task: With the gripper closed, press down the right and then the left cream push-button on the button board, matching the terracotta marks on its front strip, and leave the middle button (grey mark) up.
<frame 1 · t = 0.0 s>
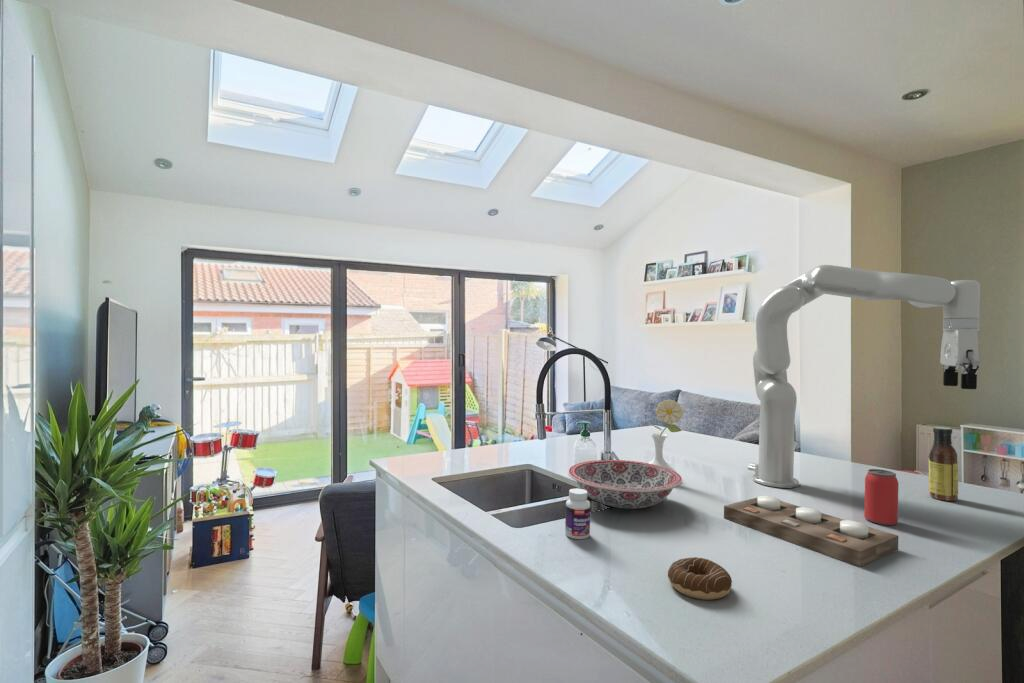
hand: (959, 387, 140), 31 cm above the worktop, tool pointing down, fingers open, 9 cm apart
pill bottle: (577, 535, 111), on the worktop
sauce bottle: (942, 499, 141), on the worktop
flower in vase: (660, 480, 156), on the worktop
donut: (699, 589, 89), on the worktop
right button: (853, 529, 107), point 4 cm above the worktop, slide at 0.0 cm
left button: (768, 503, 124), point 4 cm above the worktop, slide at 0.0 cm
button board: (804, 532, 115), on the worktop
beer can: (880, 522, 123), on the worktop
ceramic bowl: (623, 504, 133), on the worktop
middle button: (808, 515, 115), point 4 cm above the worktop, slide at 0.0 cm
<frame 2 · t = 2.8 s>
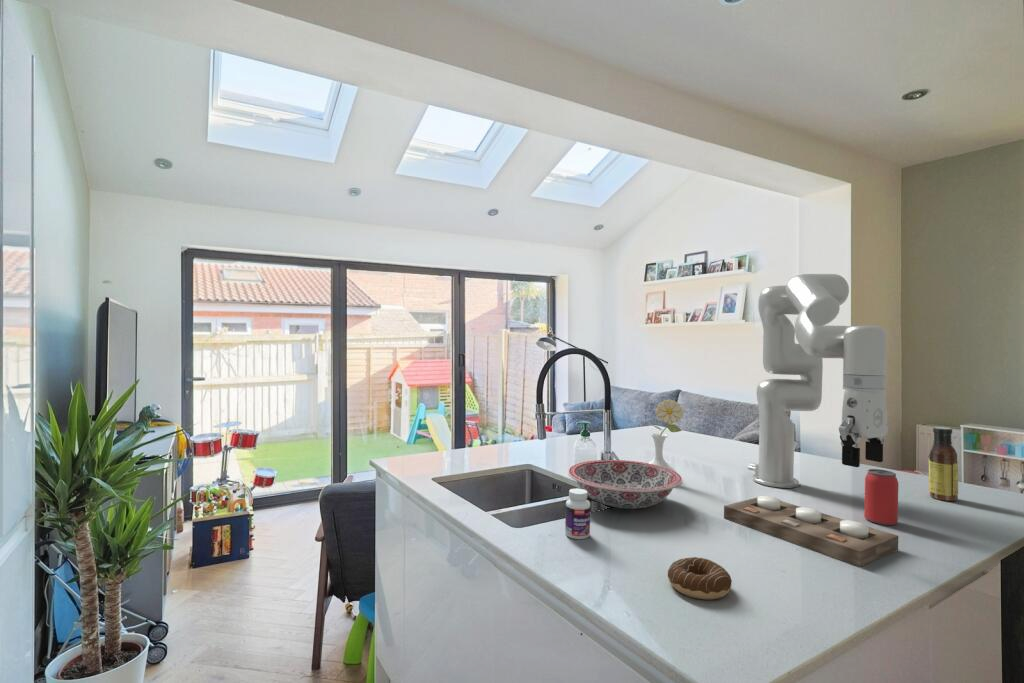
hand: (862, 463, 108), 17 cm above the worktop, tool pointing down, fingers open, 9 cm apart
nothing on the worktop moved.
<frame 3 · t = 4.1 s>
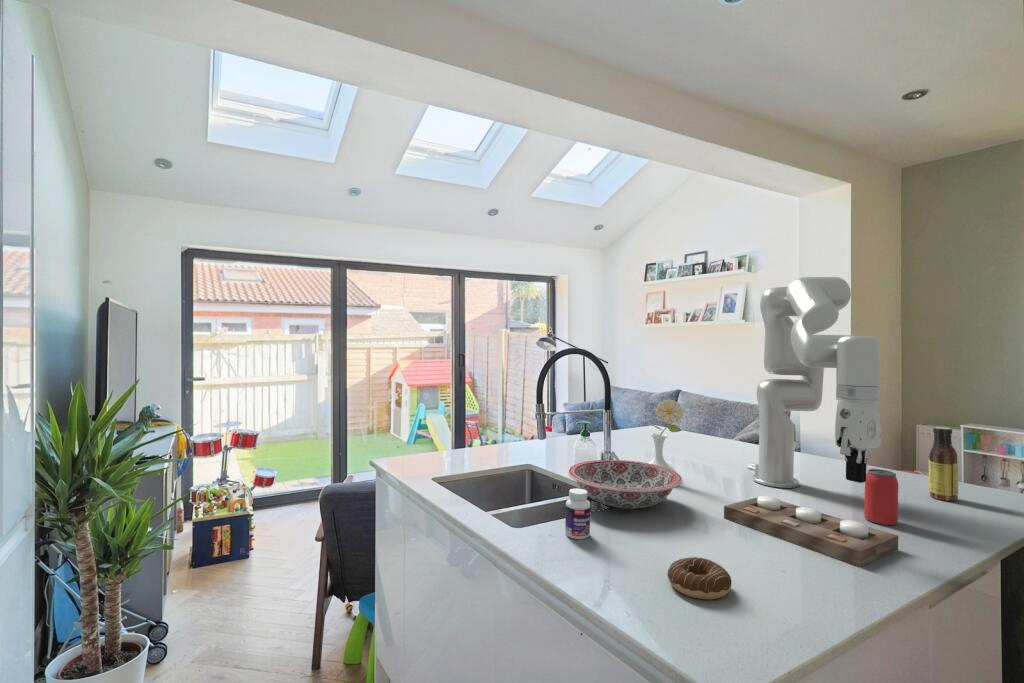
hand: (855, 480, 107), 14 cm above the worktop, tool pointing down, fingers closed
nothing on the worktop moved.
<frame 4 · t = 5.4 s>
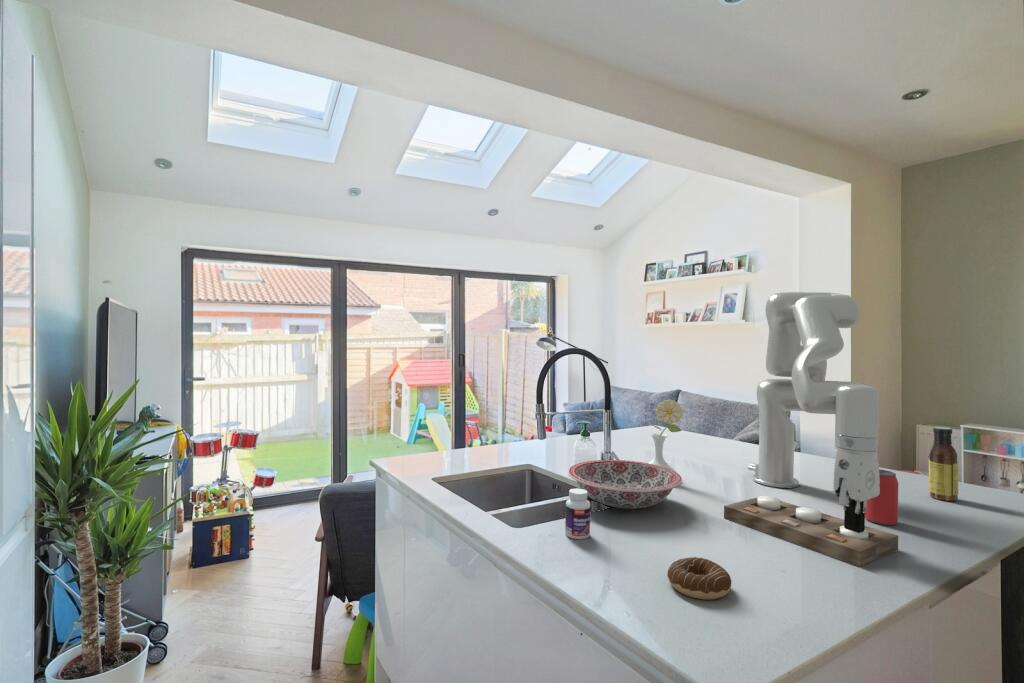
hand: (854, 529, 107), 4 cm above the worktop, tool pointing down, fingers closed
right button: (853, 534, 107), point 3 cm above the worktop, slide at 1.1 cm, touching gripper
everything else where it was.
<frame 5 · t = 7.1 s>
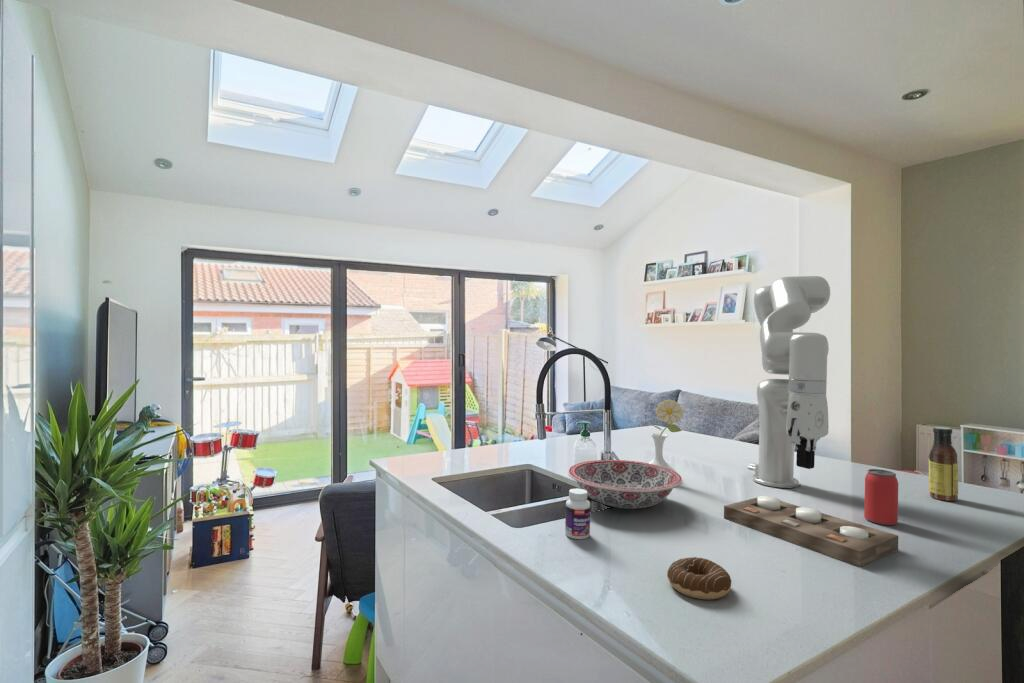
hand: (805, 467, 116), 14 cm above the worktop, tool pointing down, fingers closed
right button: (853, 535, 107), point 2 cm above the worktop, slide at 1.3 cm
everything else where it was.
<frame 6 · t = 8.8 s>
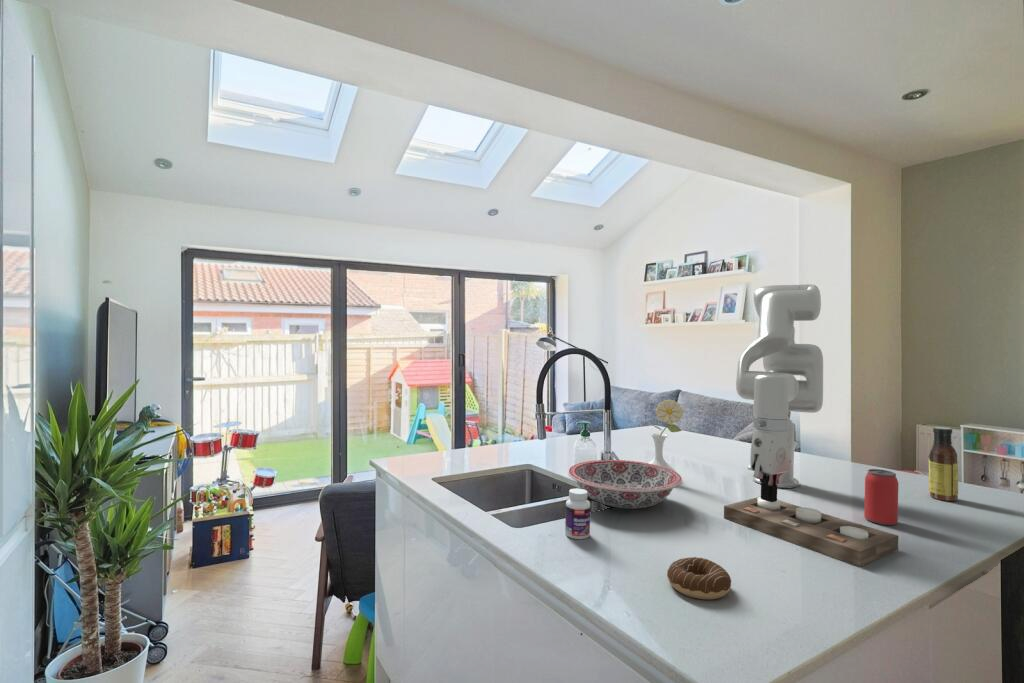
hand: (768, 500, 123), 5 cm above the worktop, tool pointing down, fingers closed
left button: (768, 504, 124), point 4 cm above the worktop, slide at 0.2 cm, touching gripper
everything else where it was.
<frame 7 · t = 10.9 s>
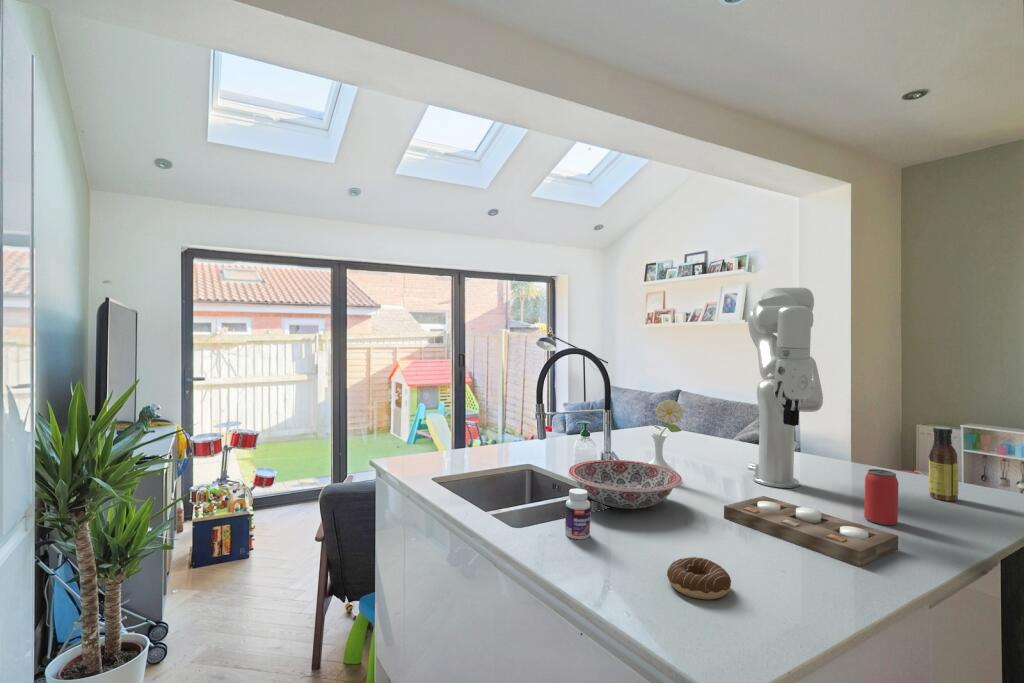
hand: (790, 424, 132), 22 cm above the worktop, tool pointing down, fingers closed
left button: (768, 508, 124), point 2 cm above the worktop, slide at 1.3 cm
everything else where it was.
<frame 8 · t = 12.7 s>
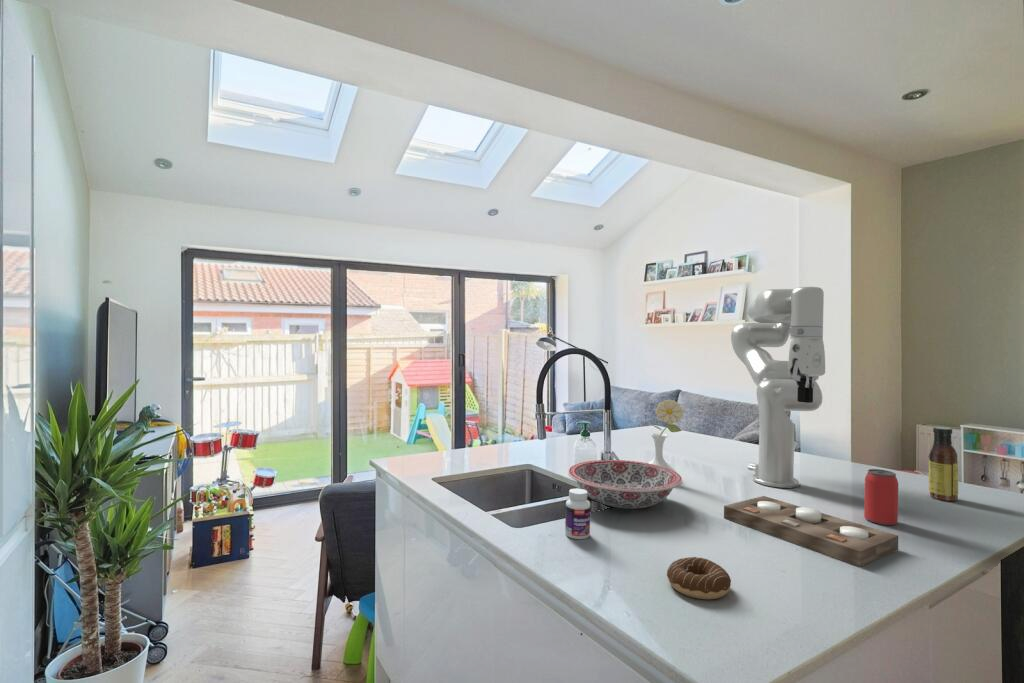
hand: (805, 401, 135), 27 cm above the worktop, tool pointing down, fingers closed
nothing on the worktop moved.
at the end: right button slide at 1.3 cm; left button slide at 1.3 cm; middle button slide at 0.0 cm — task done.
